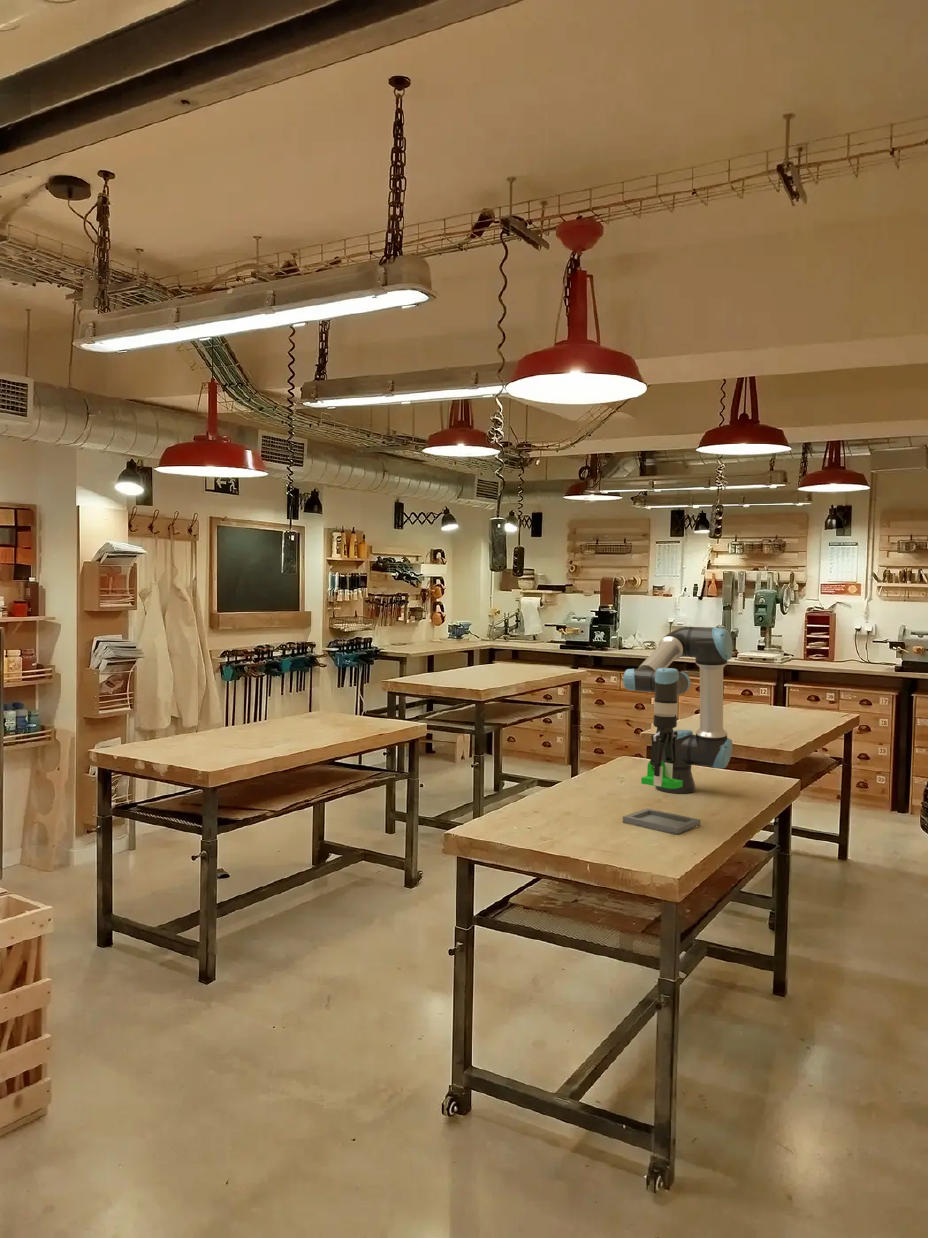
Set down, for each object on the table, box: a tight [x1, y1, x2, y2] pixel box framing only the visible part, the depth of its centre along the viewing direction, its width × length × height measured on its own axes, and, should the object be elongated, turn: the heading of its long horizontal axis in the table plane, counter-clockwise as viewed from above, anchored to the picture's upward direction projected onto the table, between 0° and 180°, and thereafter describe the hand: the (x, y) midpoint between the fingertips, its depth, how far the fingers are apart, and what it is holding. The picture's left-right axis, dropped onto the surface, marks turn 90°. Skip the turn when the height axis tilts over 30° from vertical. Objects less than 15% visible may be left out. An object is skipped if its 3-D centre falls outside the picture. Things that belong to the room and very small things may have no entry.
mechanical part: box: [640, 760, 683, 789], centre depth 291 cm, size 12×6×8 cm, turn 50°
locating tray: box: [622, 807, 702, 836], centre depth 292 cm, size 16×20×2 cm
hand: (662, 784), depth 291 cm, fingers closed on mechanical part, 6 cm apart
